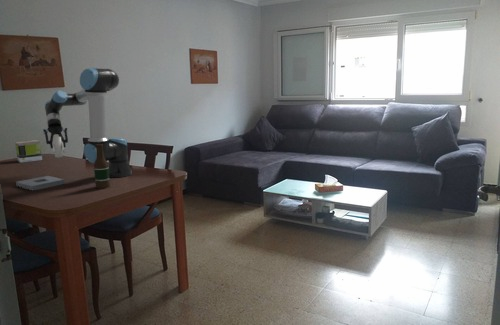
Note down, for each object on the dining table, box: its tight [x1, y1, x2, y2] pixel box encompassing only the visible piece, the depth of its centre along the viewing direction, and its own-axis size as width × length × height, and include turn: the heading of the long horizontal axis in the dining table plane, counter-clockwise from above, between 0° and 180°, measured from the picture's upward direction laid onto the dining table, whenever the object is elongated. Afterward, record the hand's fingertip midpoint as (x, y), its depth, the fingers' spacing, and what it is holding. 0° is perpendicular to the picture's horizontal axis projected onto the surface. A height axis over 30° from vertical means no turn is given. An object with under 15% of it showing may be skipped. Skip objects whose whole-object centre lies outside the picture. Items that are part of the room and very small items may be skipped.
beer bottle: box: [93, 144, 111, 190], centre depth 211 cm, size 8×8×24 cm
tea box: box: [15, 139, 43, 163], centre depth 291 cm, size 15×10×15 cm
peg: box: [53, 136, 64, 158], centre depth 232 cm, size 4×4×12 cm
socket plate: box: [15, 175, 66, 191], centre depth 219 cm, size 18×18×2 cm
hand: (58, 151), depth 229 cm, fingers closed on peg, 4 cm apart
